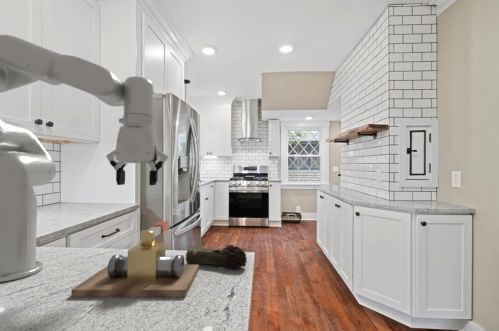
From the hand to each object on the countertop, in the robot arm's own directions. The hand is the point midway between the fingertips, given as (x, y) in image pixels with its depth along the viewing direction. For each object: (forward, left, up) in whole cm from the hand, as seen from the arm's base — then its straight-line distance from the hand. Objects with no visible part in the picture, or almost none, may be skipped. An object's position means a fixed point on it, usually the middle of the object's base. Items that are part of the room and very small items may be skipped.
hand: (136, 184), depth 72 cm
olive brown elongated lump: (+23, +3, -23) cm, 33 cm away
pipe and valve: (+7, -9, -22) cm, 25 cm away
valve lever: (+7, -4, -14) cm, 16 cm away
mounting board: (+6, -9, -23) cm, 25 cm away
